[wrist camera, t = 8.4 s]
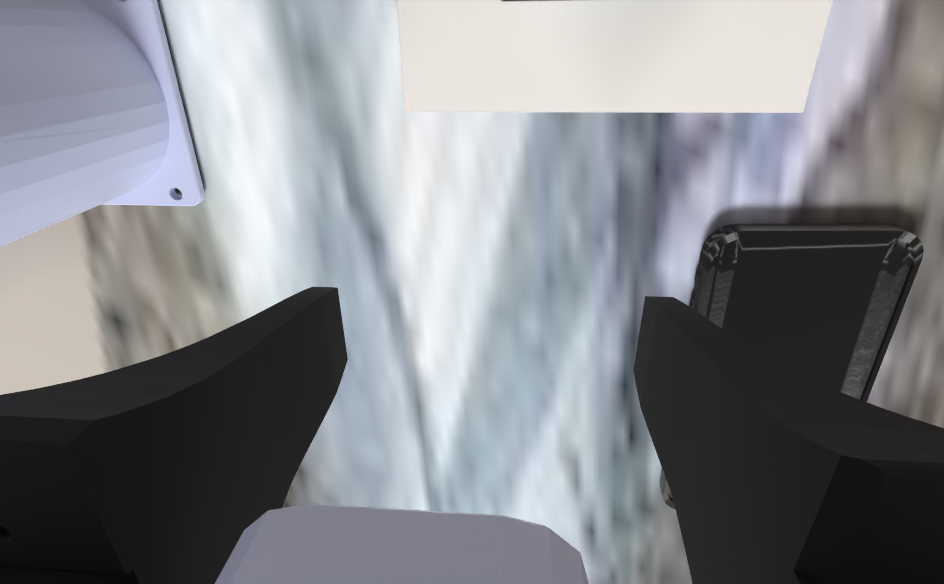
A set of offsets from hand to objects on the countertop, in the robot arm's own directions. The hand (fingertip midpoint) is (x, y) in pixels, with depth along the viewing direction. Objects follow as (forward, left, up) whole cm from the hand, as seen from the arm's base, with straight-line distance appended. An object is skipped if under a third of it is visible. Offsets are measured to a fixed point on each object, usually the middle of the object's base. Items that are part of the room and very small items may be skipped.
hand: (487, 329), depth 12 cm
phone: (+12, -8, -10) cm, 18 cm away
